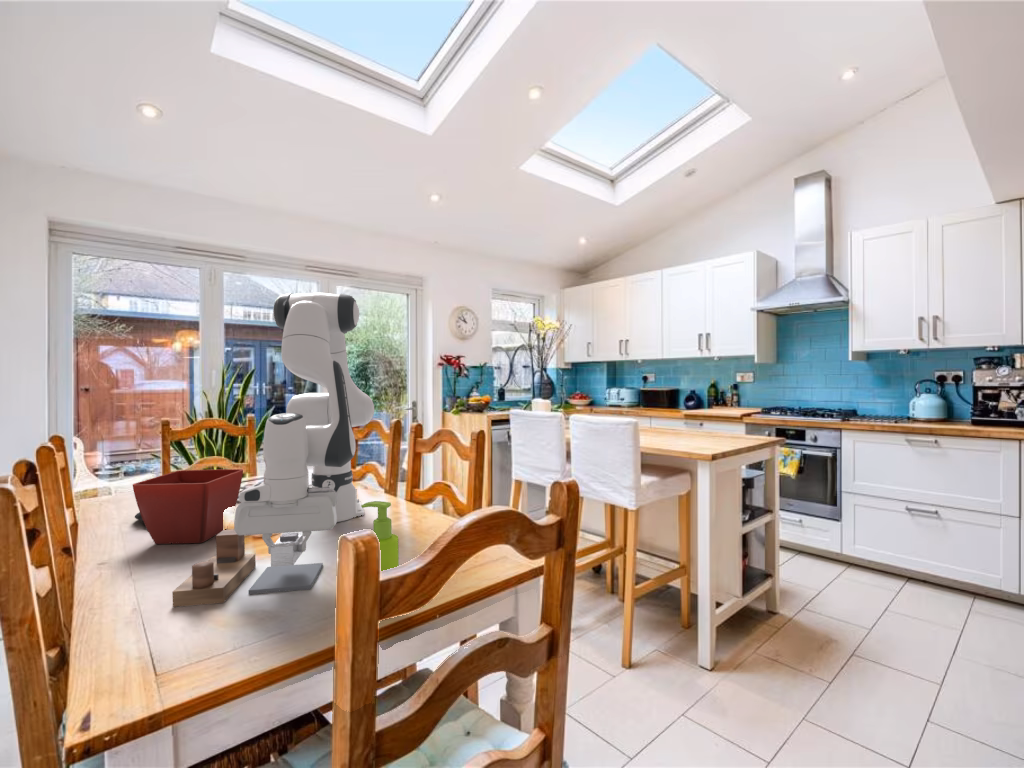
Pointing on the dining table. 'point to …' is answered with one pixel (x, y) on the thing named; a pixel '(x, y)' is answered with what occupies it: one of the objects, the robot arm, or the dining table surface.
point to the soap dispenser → (385, 535)
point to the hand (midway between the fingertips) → (287, 551)
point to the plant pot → (187, 504)
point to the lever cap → (286, 550)
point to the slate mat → (286, 578)
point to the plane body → (217, 573)
